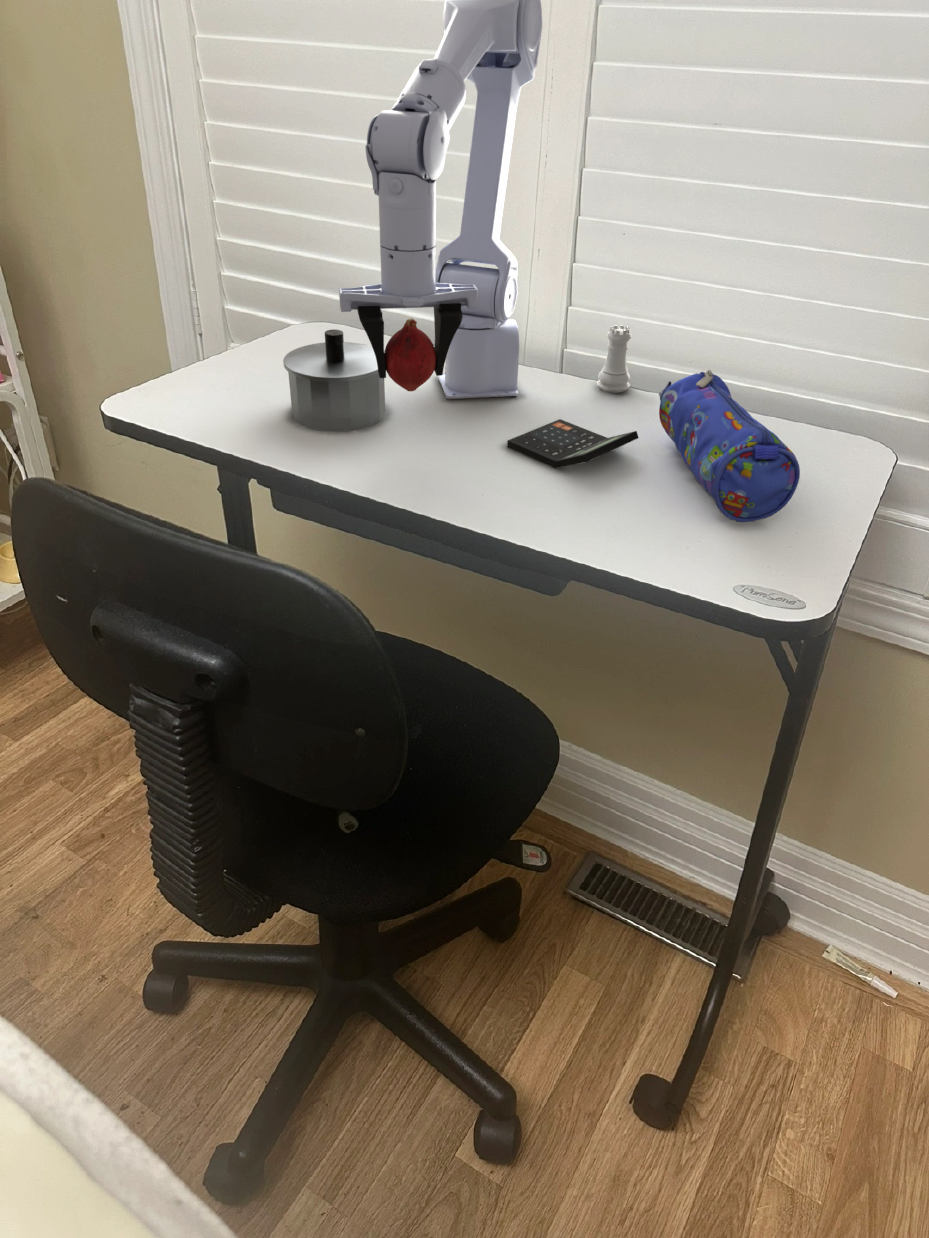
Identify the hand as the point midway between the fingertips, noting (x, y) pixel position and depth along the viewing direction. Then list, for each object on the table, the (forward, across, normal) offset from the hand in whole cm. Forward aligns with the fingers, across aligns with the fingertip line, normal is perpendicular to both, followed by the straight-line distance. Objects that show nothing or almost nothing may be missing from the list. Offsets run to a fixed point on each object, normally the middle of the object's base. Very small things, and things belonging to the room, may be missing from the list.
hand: (409, 373), depth 100 cm
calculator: (+9, +18, -4) cm, 21 cm away
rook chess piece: (+9, +29, +15) cm, 34 cm away
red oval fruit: (+2, 0, 0) cm, 2 cm away
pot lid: (+2, -8, +10) cm, 13 cm away
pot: (+9, -8, +10) cm, 16 cm away
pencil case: (+9, +32, -13) cm, 36 cm away
